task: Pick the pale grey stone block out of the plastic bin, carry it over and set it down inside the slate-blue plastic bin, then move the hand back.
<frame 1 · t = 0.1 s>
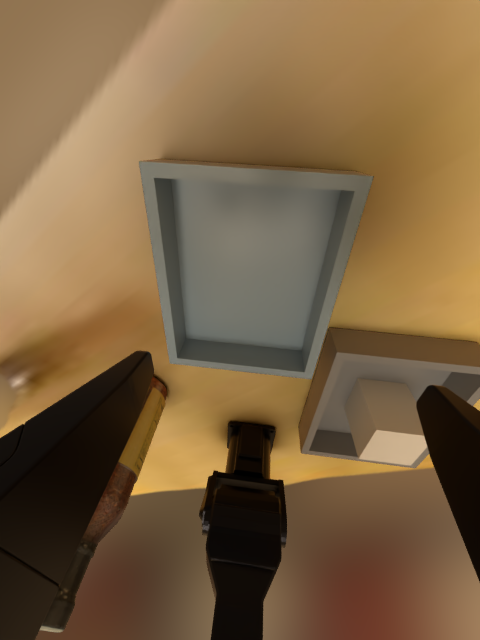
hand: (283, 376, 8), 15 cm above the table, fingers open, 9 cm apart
stone block: (373, 396, 28), point 1 cm above the table, touching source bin
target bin: (248, 275, 22), on the table
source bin: (371, 391, 29), on the table
sauce bottle: (148, 386, 33), on the table
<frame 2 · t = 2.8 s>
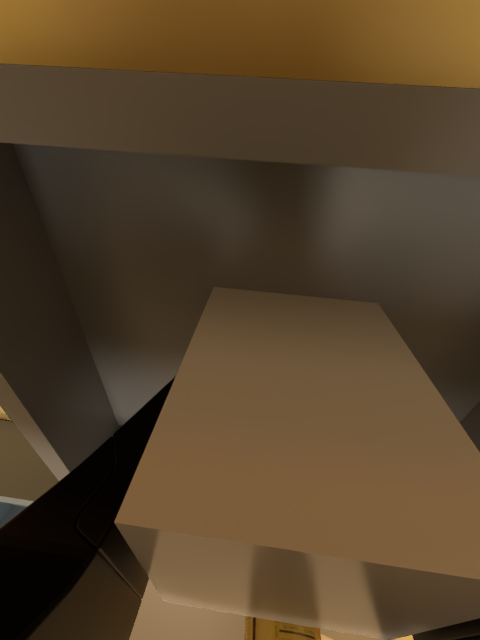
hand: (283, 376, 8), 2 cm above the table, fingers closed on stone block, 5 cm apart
stone block: (282, 355, 9), point 1 cm above the table, touching gripper, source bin
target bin: (77, 478, 19), on the table
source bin: (281, 344, 10), on the table
sauce bottle: (281, 556, 25), on the table
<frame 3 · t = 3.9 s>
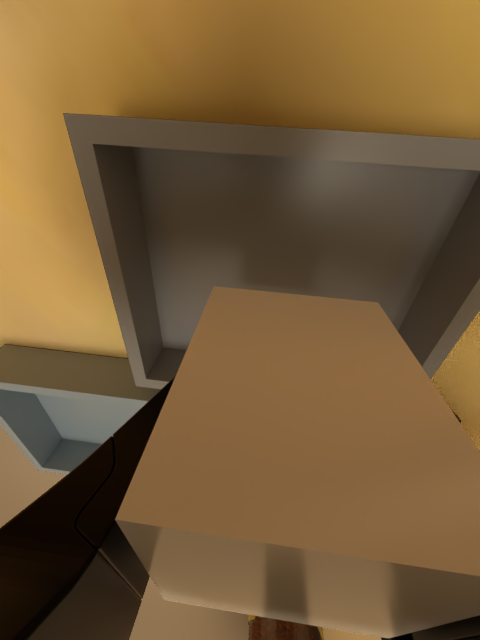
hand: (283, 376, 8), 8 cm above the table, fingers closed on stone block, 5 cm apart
stone block: (282, 354, 9), point 7 cm above the table, touching gripper
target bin: (120, 408, 24), on the table
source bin: (279, 277, 15), on the table
sauce bottle: (280, 487, 30), on the table
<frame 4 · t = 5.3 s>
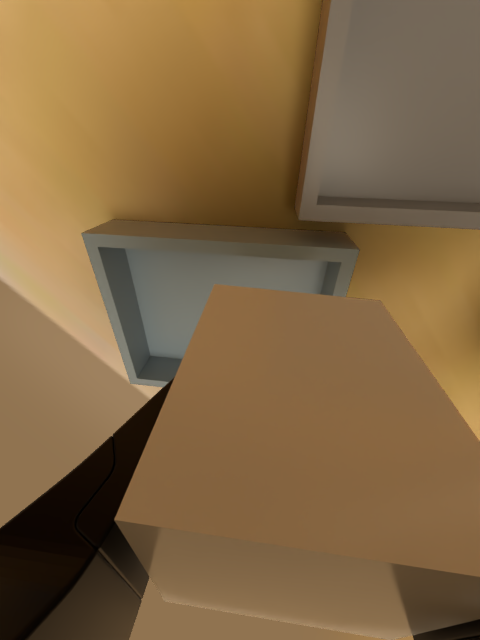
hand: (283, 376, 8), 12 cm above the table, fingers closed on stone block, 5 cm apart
stone block: (283, 353, 9), point 11 cm above the table, touching gripper
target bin: (225, 307, 22), on the table
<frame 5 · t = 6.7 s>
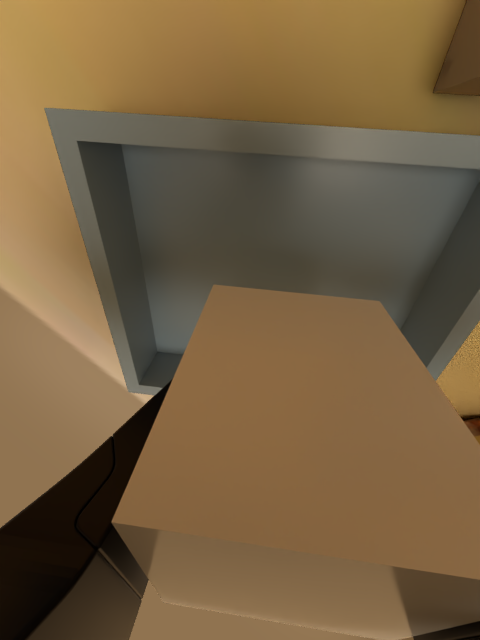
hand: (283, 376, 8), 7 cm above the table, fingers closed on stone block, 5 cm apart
stone block: (282, 354, 9), point 6 cm above the table, touching gripper
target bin: (276, 280, 14), on the table
when the fingers open (3 cm above the table, at t = 7.9 s): stone block drops 1 cm, resting on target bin.
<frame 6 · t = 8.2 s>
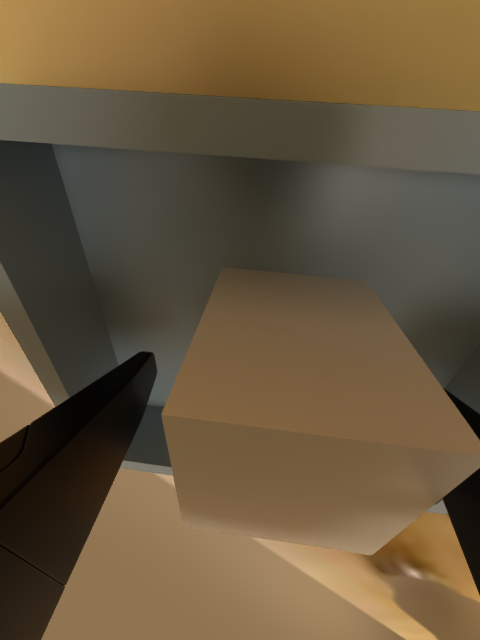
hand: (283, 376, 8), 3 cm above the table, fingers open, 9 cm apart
stone block: (282, 330, 10), point 1 cm above the table, touching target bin
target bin: (279, 324, 11), on the table
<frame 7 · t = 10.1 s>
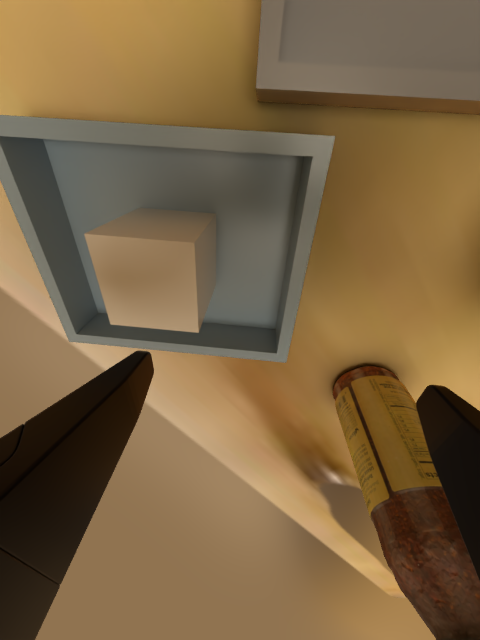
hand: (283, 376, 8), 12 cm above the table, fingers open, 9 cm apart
stone block: (180, 248, 18), point 1 cm above the table, touching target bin
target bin: (182, 247, 18), on the table
sauce bottle: (364, 382, 24), on the table
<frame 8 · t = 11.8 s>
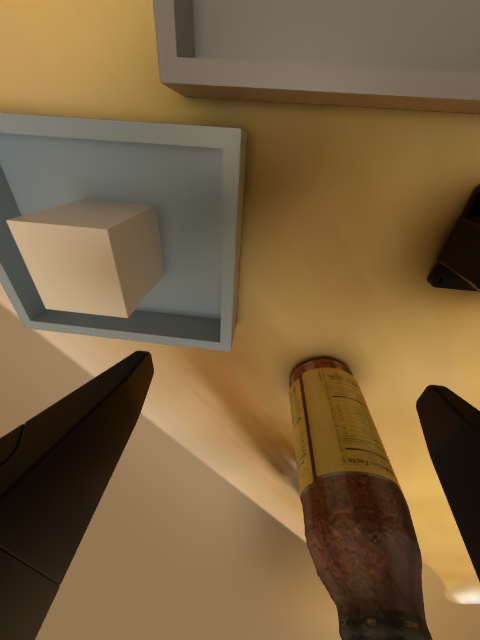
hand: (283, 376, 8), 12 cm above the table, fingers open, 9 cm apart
stone block: (126, 239, 18), point 1 cm above the table, touching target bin
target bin: (130, 238, 19), on the table
sauce bottle: (321, 375, 25), on the table
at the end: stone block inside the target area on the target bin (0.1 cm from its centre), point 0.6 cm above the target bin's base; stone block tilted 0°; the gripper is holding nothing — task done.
